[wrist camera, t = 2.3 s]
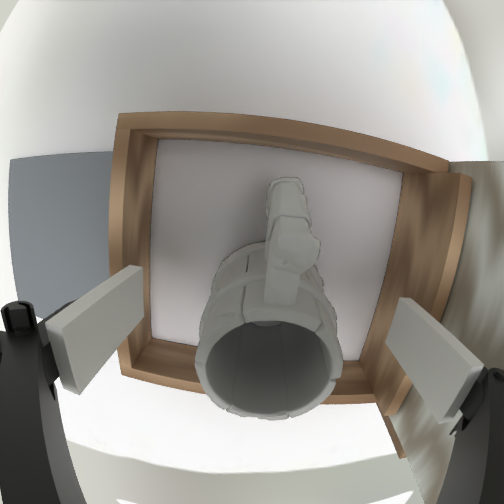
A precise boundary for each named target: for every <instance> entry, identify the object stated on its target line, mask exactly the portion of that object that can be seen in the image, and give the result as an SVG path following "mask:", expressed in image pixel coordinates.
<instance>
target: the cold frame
mask: <svg viewBox="0 0 504 504" xmlns="http://www.w3.org/2000/svg"><path fill="white" fill-rule="evenodd" d="M158 139H182V140H204V141H219V142H232V143H243V144H253V145H262V146H270V147H278V148H285V149H292V150H299V151H305V152H311V153H317V154H322V155H328V156H333V157H338V158H343V159H348V160H353V161H358V162H362V163H367V164H371V165H375V166H379V167H383V168H387V169H391V170H395V171H399V172H402V173H403V180H402V188H401V195H400V202H399V209H398V215H397V221H396V226H395V232H394V237H393V242H392V247H391V252H390V256H389V261H388V265H387V269H386V273H385V277H384V281H383V285H382V289H381V293H380V296H379V300H378V303H377V307H376V310H375V314H374V317H373V320H372V323H371V326H370V330H369V333H368V336H367V339H366V342H365V345H364V347H363V350H362V353H361V356H360V359H359V361H343V367H342V373H341V377H340V378H336V379H335V380H336V385H335V387H334V389H333V391H332V392H331V394H330V395H329V396H328V397H327V398H326V399H325V400H324V401H323V402H322V403H321V404H361V403H376V404H377V406H378V408H379V411H380V413H381V415H382V418H383V420H384V422H385V425H386V427H387V429H388V432H389V434H390V437H391V439H392V442H393V444H394V446H395V449H396V451H397V454H398V456H399V458H400V459H401V458H405V457H407V459H408V461H409V464H410V466H411V469H412V471H413V474H414V476H415V479H416V481H417V484H418V487H419V489H420V492H421V495H422V497H423V500H424V503H425V504H436V502H437V499H438V497H439V494H440V491H441V488H442V485H443V482H444V479H445V476H446V472H447V469H448V465H449V462H450V458H451V454H452V450H453V445H454V441H455V437H454V435H455V434H456V431H455V432H453V434H452V435H449V434H450V432H451V430H452V429H453V428H454V426H455V425H456V423H457V422H458V421H459V419H460V418H461V416H462V415H463V414H462V412H461V411H460V409H459V411H458V412H457V414H456V415H455V417H454V418H453V420H452V421H449V422H445V423H442V424H438V422H437V421H436V419H435V417H434V416H433V414H432V413H431V411H430V409H429V408H428V406H427V405H426V403H425V402H424V400H423V398H422V397H421V395H420V394H419V392H418V391H417V389H416V388H415V386H414V385H413V383H412V382H411V380H410V379H409V377H408V376H407V374H406V373H405V371H404V370H403V368H402V367H401V365H400V364H399V362H398V361H397V359H396V358H395V356H394V355H393V353H392V352H391V351H390V349H389V348H388V346H387V345H386V343H385V341H386V338H387V335H388V332H389V330H390V327H391V324H392V320H393V317H394V314H395V311H396V308H397V304H398V301H399V297H404V298H411V299H413V300H414V301H415V302H416V303H417V304H419V305H420V306H421V307H422V308H423V309H424V310H425V311H427V312H428V313H429V314H430V315H431V316H432V317H433V318H435V319H436V320H437V321H438V322H439V323H440V324H441V325H442V326H444V327H445V328H446V329H447V330H448V331H449V332H450V333H451V334H452V335H454V336H455V337H456V338H457V339H458V340H459V341H460V342H461V343H462V344H463V345H464V346H465V347H466V348H467V349H468V350H470V351H471V352H472V353H473V354H474V355H475V356H476V357H477V358H478V359H479V360H480V361H481V362H482V363H483V364H484V366H485V367H486V368H487V369H488V370H489V369H491V368H499V369H502V370H504V161H463V162H449V161H448V160H445V159H442V158H440V157H437V156H434V155H431V154H429V153H426V152H423V151H420V150H417V149H414V148H411V147H408V146H404V145H401V144H398V143H394V142H391V141H387V140H384V139H380V138H377V137H373V136H369V135H365V134H361V133H357V132H352V131H348V130H343V129H339V128H334V127H329V126H324V125H319V124H313V123H307V122H301V121H295V120H288V119H281V118H273V117H265V116H256V115H245V114H233V113H217V112H187V111H165V112H136V113H121V114H119V115H118V121H117V127H116V134H115V142H114V150H113V159H112V169H111V182H110V198H109V273H110V277H112V276H113V275H115V274H116V273H118V272H119V271H121V270H122V269H124V268H126V267H127V266H129V265H134V266H140V267H143V301H144V317H143V318H142V320H141V321H140V322H139V323H138V324H137V325H136V327H135V328H134V329H133V330H132V331H131V333H130V334H129V335H128V336H127V337H126V338H125V340H124V341H123V342H122V343H121V344H120V346H119V347H118V348H117V351H118V357H119V363H120V369H121V374H122V375H124V376H127V377H131V378H135V379H138V380H142V381H146V382H150V383H154V384H158V385H162V386H167V387H171V388H176V389H181V390H186V391H191V392H196V393H202V394H206V393H205V391H204V390H203V388H202V385H201V383H200V380H199V378H198V375H197V372H196V368H195V355H196V351H197V348H198V347H197V346H191V345H185V344H180V343H174V342H169V341H164V340H159V339H155V338H152V334H151V315H150V229H151V209H152V194H153V182H154V171H155V162H156V153H157V144H158Z"/></svg>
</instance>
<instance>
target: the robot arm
mask: <svg viewBox="0 0 504 504" xmlns="http://www.w3.org/2000/svg"><path fill="white" fill-rule="evenodd" d="M1 314H2V318H3V322H4V326H5V330H6V332H4V331H0V489H1V495H2V501H3V504H87V503H86V501H85V498H84V496H83V493H82V491H81V488H80V485H79V482H78V479H77V476H76V473H75V470H74V467H73V464H72V460H71V457H70V454H69V450H68V446H67V443H66V438H65V434H64V429H63V424H62V420H61V414H60V409H59V403H58V397H57V390H56V386H55V384H54V381H55V380H56V379H57V378H58V377H60V380H61V383H62V386H63V388H64V389H66V390H69V391H71V392H73V393H75V394H78V395H80V394H81V393H82V391H83V390H84V389H85V388H86V386H87V385H88V384H89V383H90V381H91V380H92V379H93V378H94V376H95V375H96V374H97V373H98V371H99V370H100V369H101V368H102V366H103V365H104V364H105V363H106V361H107V360H108V359H109V358H110V357H111V355H112V354H113V353H114V352H115V350H116V349H117V348H118V347H119V346H120V344H121V343H122V342H123V341H124V340H125V338H126V337H127V336H128V335H129V334H130V333H131V331H132V330H133V329H134V328H135V327H136V325H137V324H138V323H139V322H140V321H141V320H142V318H143V317H144V301H143V267H140V266H134V265H129V266H127V267H126V268H124V269H122V270H121V271H119V272H118V273H116V274H115V275H113V276H112V277H110V278H109V279H107V280H106V281H104V282H103V283H101V284H100V285H98V286H97V287H95V288H94V289H92V290H91V291H89V292H88V293H86V294H85V295H83V296H82V297H80V298H79V299H77V300H74V301H71V302H68V303H66V304H65V305H63V306H62V307H60V309H58V310H56V311H55V312H54V313H52V314H50V315H49V316H48V317H46V318H45V319H43V320H42V321H41V322H39V323H38V324H37V321H36V316H35V312H34V307H33V304H31V303H30V302H27V301H15V302H11V303H8V304H6V305H5V306H4V307H3V308H2V309H1ZM385 343H386V345H387V346H388V348H389V349H390V351H391V352H392V353H393V355H394V356H395V358H396V359H397V361H398V362H399V364H400V365H401V367H402V368H403V370H404V371H405V373H406V374H407V376H408V377H409V379H410V380H411V382H412V383H413V385H414V386H415V388H416V389H417V391H418V392H419V394H420V395H421V397H422V398H423V400H424V402H425V403H426V405H427V406H428V408H429V409H430V411H431V413H432V414H433V416H434V417H435V419H436V421H437V422H438V424H442V423H445V422H449V421H452V420H453V418H454V417H455V415H456V414H457V412H458V411H459V409H460V411H461V412H462V414H463V415H462V416H461V418H460V419H459V421H458V422H457V423H456V425H455V426H454V428H453V429H452V430H451V432H450V434H449V435H452V434H453V432H455V431H456V434H455V435H454V437H455V441H454V445H453V450H452V454H451V458H450V462H449V465H448V469H447V472H446V476H445V479H444V482H443V485H442V488H441V491H440V494H439V497H438V499H437V502H436V504H504V370H502V369H499V368H491V369H489V370H488V369H487V368H486V367H485V366H484V364H483V363H482V362H481V361H480V360H479V359H478V358H477V357H476V356H475V355H474V354H473V353H472V352H471V351H470V350H468V349H467V348H466V347H465V346H464V345H463V344H462V343H461V342H460V341H459V340H458V339H457V338H456V337H455V336H454V335H452V334H451V333H450V332H449V331H448V330H447V329H446V328H445V327H444V326H442V325H441V324H440V323H439V322H438V321H437V320H436V319H435V318H433V317H432V316H431V315H430V314H429V313H428V312H427V311H425V310H424V309H423V308H422V307H421V306H420V305H419V304H417V303H416V302H415V301H414V300H413V299H411V298H404V297H399V301H398V304H397V308H396V311H395V314H394V317H393V320H392V324H391V327H390V330H389V332H388V335H387V338H386V341H385Z"/></svg>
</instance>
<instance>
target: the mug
mask: <svg viewBox="0 0 504 504" xmlns="http://www.w3.org/2000/svg"><path fill="white" fill-rule="evenodd" d="M303 193H304V188H303V185H302V183H301V181H300V179H299V178H296V177H281V178H278V179H276V180H274V181H272V182H271V183H270V185H269V189H268V192H267V200H266V211H265V214H266V217H267V219H268V222H267V232H266V242H259V243H254V244H250V245H247V246H245V247H243V248H241V249H238V250H237V251H235V252H234V253H232V254H231V255H230V256H229V257H228V258H227V259H225V260H224V261H223V262H222V263H221V265H220V268H219V269H218V271H217V273H216V275H215V277H214V280H213V284H212V288H211V295H210V297H209V300H208V302H207V305H206V308H205V310H204V312H203V315H202V318H201V322H200V330H199V337H200V341H199V345H198V348H197V351H196V355H195V368H196V372H197V375H198V378H199V380H200V383H201V385H202V388H203V390H204V391H205V393H206V394H207V395H208V396H209V398H210V399H211V400H212V401H213V402H214V403H215V404H216V405H217V406H218V407H220V408H222V409H226V411H227V412H230V413H233V414H236V415H239V416H240V417H257V418H259V419H267V420H282V419H287V418H289V416H290V417H291V418H293V417H296V416H299V415H302V414H304V413H306V412H308V411H310V410H312V409H313V408H315V407H316V406H318V405H319V404H321V403H322V402H323V401H324V400H325V399H326V398H327V397H328V396H329V395H330V394H331V392H332V391H333V389H334V387H335V385H336V380H335V379H336V378H340V377H341V373H342V367H343V356H342V350H341V347H340V344H339V341H338V338H337V322H336V320H337V316H336V313H335V310H334V308H333V307H332V306H331V304H330V302H329V301H328V300H327V298H326V297H325V295H324V289H323V286H324V283H323V280H322V278H321V277H320V275H319V273H318V271H317V269H316V267H315V266H314V264H315V262H316V260H317V258H318V255H319V250H320V245H321V243H320V241H319V240H318V239H317V238H316V237H314V236H313V235H312V234H311V232H310V229H309V228H311V220H310V215H309V212H308V209H307V199H306V196H304V195H303ZM277 321H282V322H281V323H279V322H277Z"/></svg>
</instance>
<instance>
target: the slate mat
mask: <svg viewBox="0 0 504 504" xmlns="http://www.w3.org/2000/svg"><path fill="white" fill-rule="evenodd" d="M112 159H113V152H88V153H71V154H57V155H46V156H36V157H28V158H20V159H12V160H10V169H9V191H8V214H9V236H10V248H11V257H12V266H13V273H14V279H15V286H16V291H17V296H18V301H27V302H30V303H31V304H33V307H34V312H35V316H37V317H40V318H43V319H45V318H46V317H48V316H49V315H50V314H52V313H54V312H55V311H56V310H58V309H60V307H62V306H63V305H65V304H66V303H68V302H71V301H74V300H77V299H79V298H80V297H82V296H83V295H85V294H86V293H88V292H89V291H91V290H92V289H94V288H95V287H97V286H98V285H100V284H101V283H103V282H104V281H106V280H107V279H109V278H110V273H109V198H110V182H111V169H112Z"/></svg>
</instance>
